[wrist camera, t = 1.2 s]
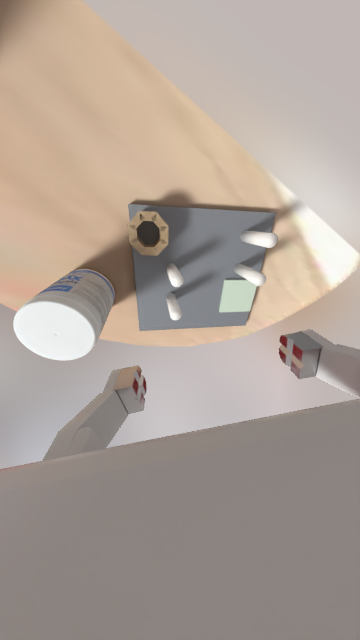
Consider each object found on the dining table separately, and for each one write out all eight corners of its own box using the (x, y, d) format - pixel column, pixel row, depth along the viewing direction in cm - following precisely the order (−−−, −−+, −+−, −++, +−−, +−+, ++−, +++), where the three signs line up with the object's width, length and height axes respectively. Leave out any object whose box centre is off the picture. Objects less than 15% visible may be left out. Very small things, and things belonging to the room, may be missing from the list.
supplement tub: (85, 256, 31) (41, 281, 18) (125, 293, 35) (113, 333, 23) (52, 291, 33) (-7, 334, 20) (94, 321, 38) (67, 372, 25)
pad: (224, 279, 36) (225, 280, 36) (257, 279, 37) (258, 280, 37) (218, 311, 40) (219, 312, 39) (248, 310, 41) (249, 311, 40)
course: (128, 204, 28) (121, 198, 20) (271, 213, 32) (311, 210, 24) (139, 328, 40) (137, 354, 32) (243, 322, 44) (263, 345, 36)
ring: (128, 211, 28) (126, 210, 24) (166, 213, 29) (168, 212, 25) (132, 251, 31) (130, 255, 27) (166, 251, 32) (168, 255, 28)
